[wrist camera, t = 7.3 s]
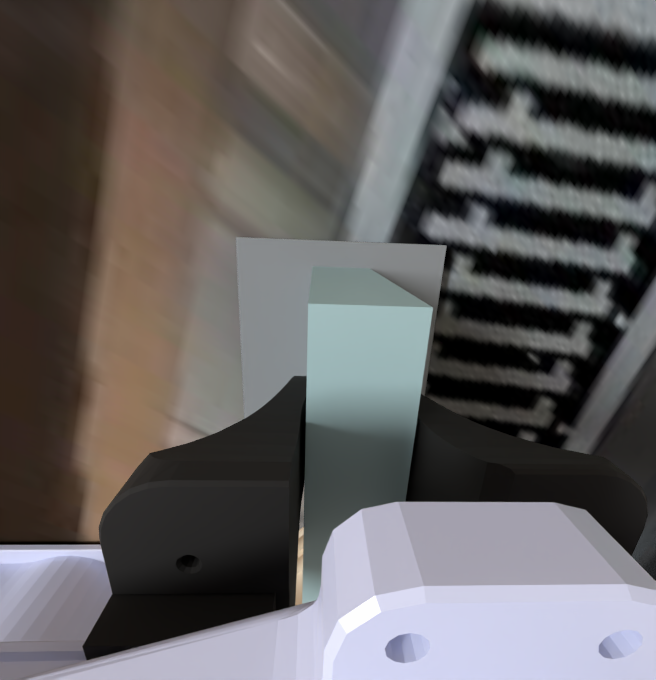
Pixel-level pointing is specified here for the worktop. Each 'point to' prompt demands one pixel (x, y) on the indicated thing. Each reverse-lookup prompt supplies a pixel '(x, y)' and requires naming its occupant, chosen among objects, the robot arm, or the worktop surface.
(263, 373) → the slate mat
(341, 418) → the tall board
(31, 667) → the robot arm
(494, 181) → the worktop surface
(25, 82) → the worktop surface
